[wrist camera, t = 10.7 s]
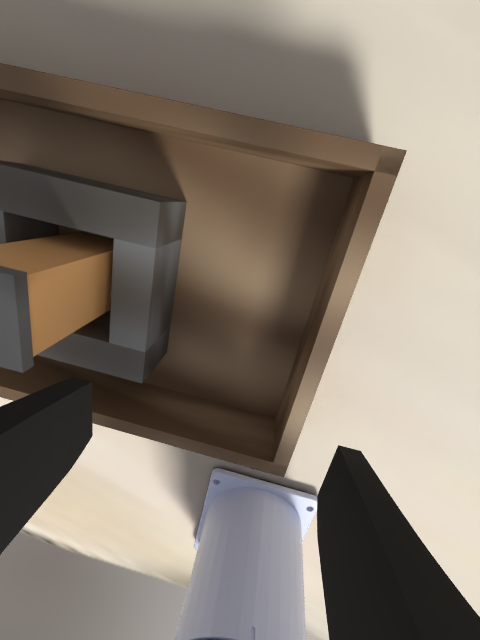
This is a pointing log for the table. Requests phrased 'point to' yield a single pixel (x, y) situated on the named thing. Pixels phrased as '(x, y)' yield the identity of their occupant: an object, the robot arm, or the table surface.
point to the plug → (50, 292)
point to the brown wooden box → (192, 257)
